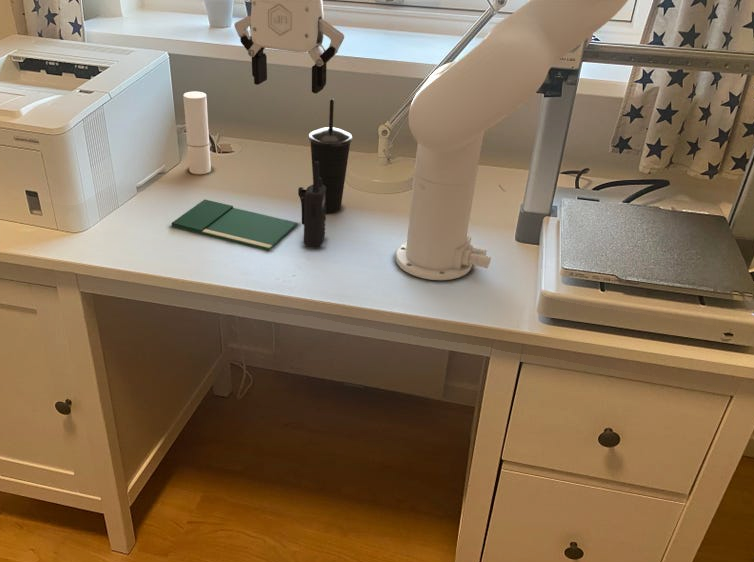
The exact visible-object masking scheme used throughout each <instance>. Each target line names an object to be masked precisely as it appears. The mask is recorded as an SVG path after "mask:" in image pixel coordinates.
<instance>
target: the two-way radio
mask: <svg viewBox="0 0 754 562" xmlns="http://www.w3.org/2000/svg"><path fill="white" fill-rule="evenodd" d="M297 191H298V192H297V193H298V194H297V195H298V197H299V199H300V204H301V225H303V245H305V247H307V248H311V249H319V248H322V245H323V243H324V241H325V236H326V220H327V217H326V213H325V212H326V187H325V186H324V185H322V178H321V177H319V162H318V161H315V162H314V174H313V173H312V184H310V185H309V186H307V188H306V189H304V187H302V186H299V187H298V190H297Z"/></svg>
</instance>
